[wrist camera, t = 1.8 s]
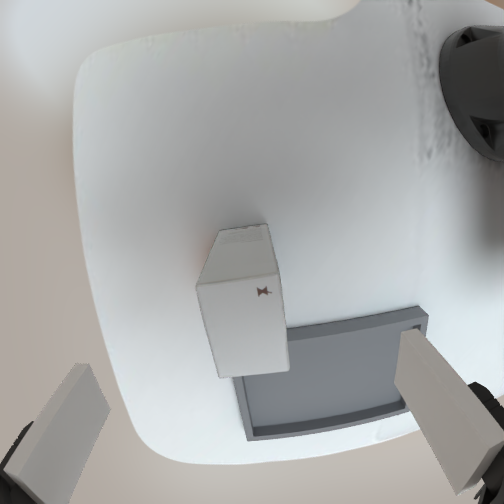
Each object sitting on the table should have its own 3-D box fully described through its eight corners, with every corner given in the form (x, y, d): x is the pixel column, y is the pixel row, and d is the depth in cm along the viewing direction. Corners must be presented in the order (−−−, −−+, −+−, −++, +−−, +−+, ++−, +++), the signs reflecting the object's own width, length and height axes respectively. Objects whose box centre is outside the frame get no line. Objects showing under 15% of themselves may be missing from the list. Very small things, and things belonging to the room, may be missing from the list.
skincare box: (217, 229, 26) (192, 282, 15) (267, 222, 26) (281, 270, 14) (229, 295, 28) (217, 381, 16) (276, 289, 28) (293, 372, 16)
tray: (418, 305, 28) (428, 315, 26) (403, 400, 32) (409, 411, 30) (228, 335, 29) (227, 348, 27) (247, 428, 33) (247, 441, 30)
